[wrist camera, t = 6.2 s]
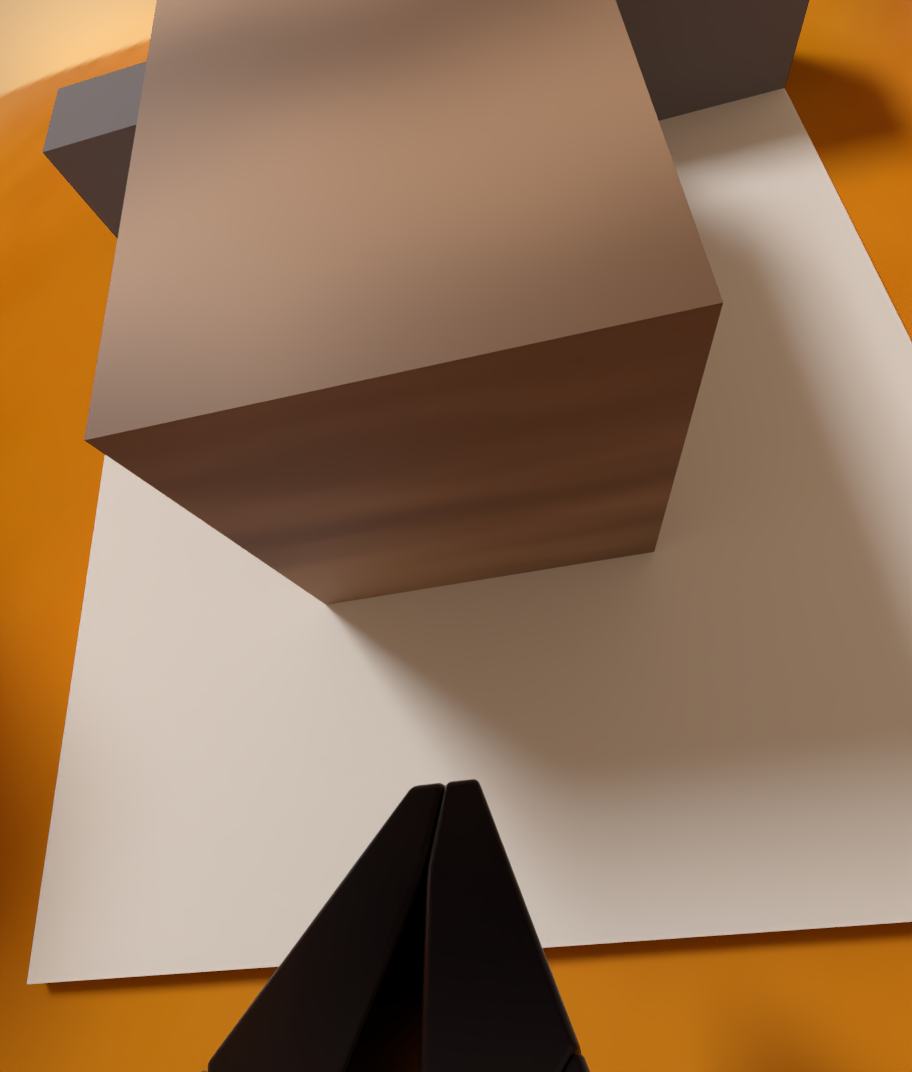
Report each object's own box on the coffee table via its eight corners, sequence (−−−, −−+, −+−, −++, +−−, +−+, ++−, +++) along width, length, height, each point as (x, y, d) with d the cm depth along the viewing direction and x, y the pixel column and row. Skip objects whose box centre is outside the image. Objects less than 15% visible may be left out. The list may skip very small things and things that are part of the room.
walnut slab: (654, 552, 14) (722, 302, 7) (325, 604, 15) (84, 440, 8) (554, 147, 20) (534, -229, 12) (319, 209, 21) (173, -101, 13)
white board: (1169, 897, 10) (1528, 968, 6) (41, 978, 14) (-187, 1059, 10) (748, 34, 20) (787, -150, 16) (151, 199, 23) (61, 79, 19)
